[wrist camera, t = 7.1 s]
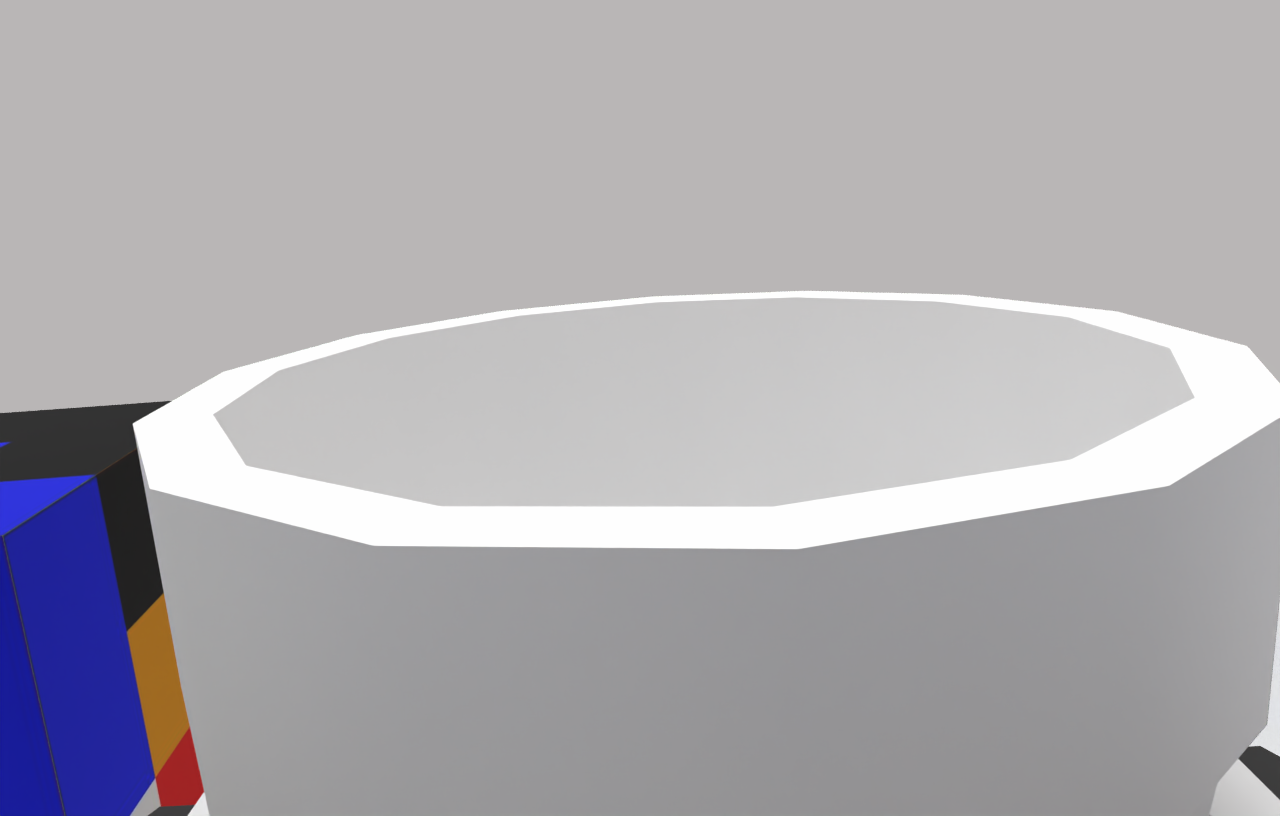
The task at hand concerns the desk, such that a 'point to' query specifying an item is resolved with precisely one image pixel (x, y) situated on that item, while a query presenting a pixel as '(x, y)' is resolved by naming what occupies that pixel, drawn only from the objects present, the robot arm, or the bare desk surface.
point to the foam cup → (726, 562)
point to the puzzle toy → (85, 625)
